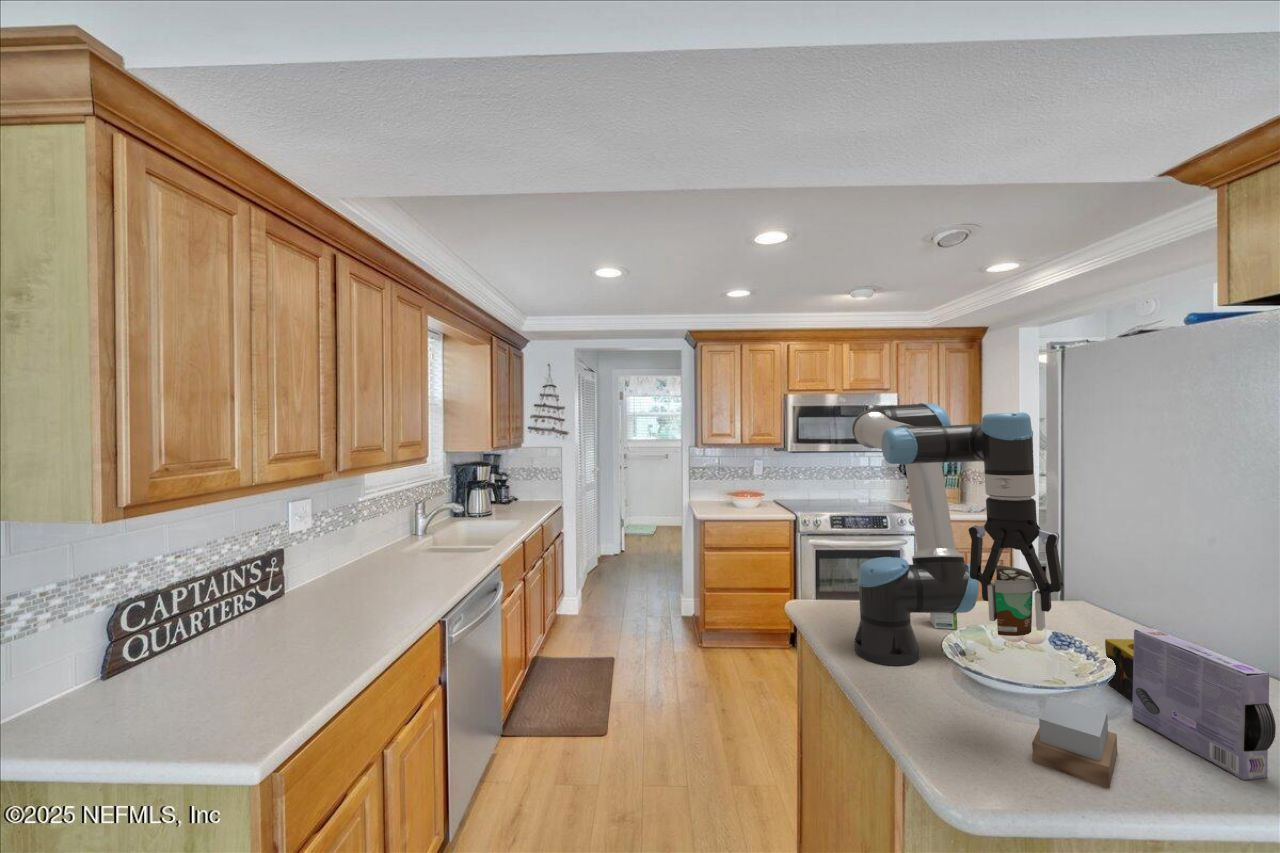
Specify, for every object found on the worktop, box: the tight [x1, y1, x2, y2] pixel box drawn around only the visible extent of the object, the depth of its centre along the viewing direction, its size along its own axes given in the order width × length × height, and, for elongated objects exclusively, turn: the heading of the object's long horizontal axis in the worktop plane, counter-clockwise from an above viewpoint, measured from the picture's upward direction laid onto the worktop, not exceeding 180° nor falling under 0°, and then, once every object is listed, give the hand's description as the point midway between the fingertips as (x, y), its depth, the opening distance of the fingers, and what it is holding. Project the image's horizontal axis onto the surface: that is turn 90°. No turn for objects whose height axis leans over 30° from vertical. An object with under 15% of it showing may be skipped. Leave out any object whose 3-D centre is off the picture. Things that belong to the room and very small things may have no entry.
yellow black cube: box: [1104, 638, 1134, 703], centre depth 111 cm, size 10×10×10 cm
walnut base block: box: [1031, 727, 1118, 790], centre depth 93 cm, size 10×12×4 cm
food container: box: [994, 564, 1038, 637], centre depth 98 cm, size 12×6×10 cm, turn 146°
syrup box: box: [929, 613, 958, 630], centre depth 152 cm, size 6×6×14 cm
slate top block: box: [1038, 695, 1109, 761], centre depth 93 cm, size 8×10×4 cm
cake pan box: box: [1131, 628, 1277, 781], centre depth 94 cm, size 19×5×18 cm, turn 5°
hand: (1016, 623), depth 98 cm, fingers closed on food container, 6 cm apart
